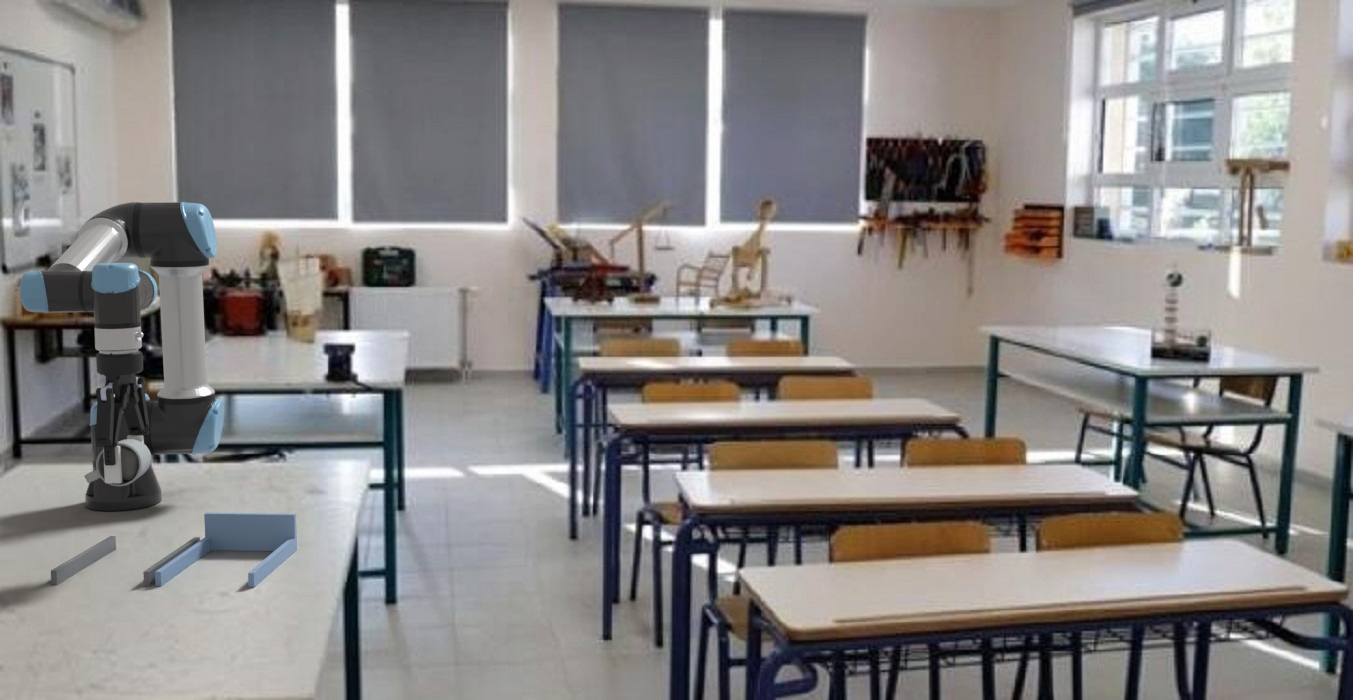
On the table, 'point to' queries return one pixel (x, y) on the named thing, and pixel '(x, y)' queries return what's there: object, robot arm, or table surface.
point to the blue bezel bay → (240, 542)
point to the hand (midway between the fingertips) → (125, 476)
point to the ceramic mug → (125, 462)
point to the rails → (102, 550)
